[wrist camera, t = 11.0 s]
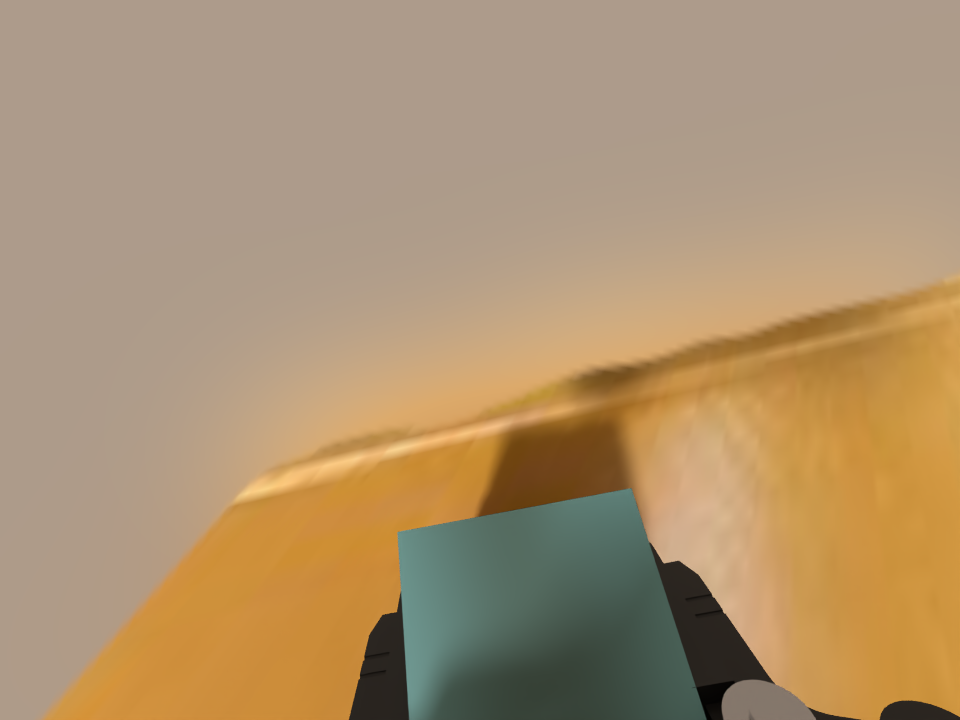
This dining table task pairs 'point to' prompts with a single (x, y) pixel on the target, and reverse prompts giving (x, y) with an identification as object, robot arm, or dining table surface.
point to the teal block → (542, 618)
